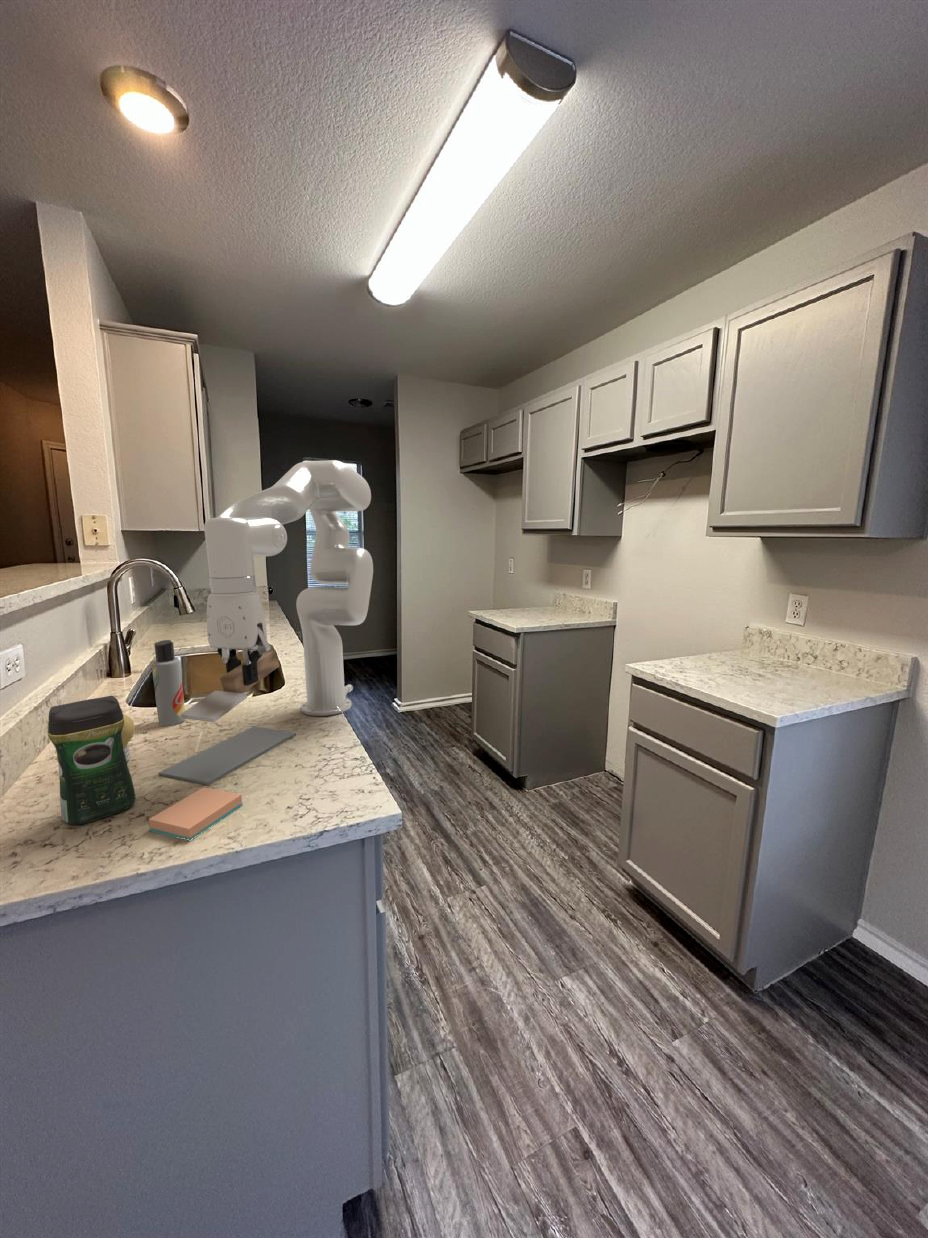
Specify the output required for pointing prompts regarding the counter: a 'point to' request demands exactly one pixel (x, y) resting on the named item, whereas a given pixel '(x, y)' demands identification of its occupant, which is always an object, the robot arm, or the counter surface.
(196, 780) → the mat
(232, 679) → the turner
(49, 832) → the counter surface
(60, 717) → the coffee jar
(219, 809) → the kitchen sponge
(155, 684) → the lotion bottle
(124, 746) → the light bulb
